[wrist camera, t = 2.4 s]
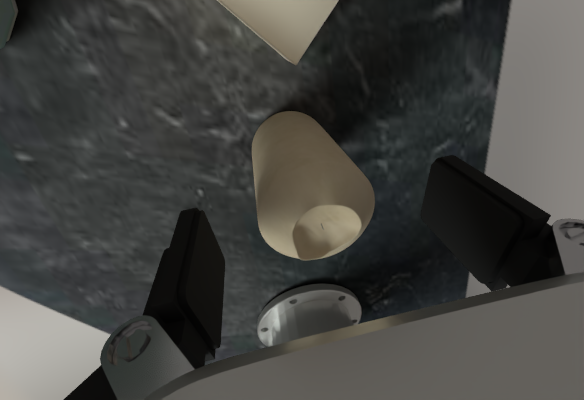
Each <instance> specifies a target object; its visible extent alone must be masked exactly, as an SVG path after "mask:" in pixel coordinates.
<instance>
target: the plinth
mask: <svg viewBox="0 0 584 400" xmlns="http://www.w3.org/2000/svg"><path fill="white" fill-rule="evenodd" d="M217 1H218V2H219V3H220V4H222V5H223V6H224V7H225V8H226V9H227V10H229V11H230V12H231V13H232V14H233V15H235V16H236V17H237V18H238V19H239V20H240V21H242V22H243V23H244V24H245V25H246V26H247V27H249V28H250V29H251V30H252V31H253V32H254V33H256V34H257V35H258V36H259V37H260V38H261V39H263V40H264V41H265V42H266V43H267V44H269V45H270V46H271V47H272V48H273V49H274V50H276V51H277V52H278V53H279V54H280V55H281V56H283V57H284V58H285V59H286V60H287V61H289V62H291V63H293V64H295V65H296V64H297V63H298V61H299V60H300V58H301V57H302V55H303V54H304V52H305V51H306V49H307V48H308V46H309V45H310V43H311V42H312V40H313V39H314V37H315V36H316V34H317V33H318V31H319V30H320V28H321V27H322V25H323V24H324V22H325V20H326V19H327V17H328V16H329V14H330V13H331V11H332V10H333V8H334V7H335V5H336V4H337V2H338V1H339V0H217Z"/></svg>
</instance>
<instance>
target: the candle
mask: <svg viewBox="0 0 584 400" xmlns="http://www.w3.org/2000/svg"><path fill="white" fill-rule="evenodd" d="M252 160H253V171H254V183H255V194H256V205H257V216H258V225H259V229H260V232H261V234H262V236H263V238H264V239H265V241H266V242H267V243H268V244H269V245H270V246H271V247H272V248H273V249H275V250H276V251H278V252H280V253H282V254H284V255H286V256H290V257H294V258H299V259H301V260H313V259H320V258H324V257H328V256H331V255H334V254H336V253H338V252H340V251H342V250H344V249H345V248H347V247H348V246H350V245H351V244H352V243H353V242H354V241H356V240H357V239H358V238H359V236H360V235H361V234H362V233H363V231H364V230H365V228H366V227H367V225H368V224H369V222H370V220H371V217H372V214H373V211H374V205H375V198H374V192H373V188H372V186H371V184H370V182H369V180H368V179H367V178H366V176H365V175H364V174H363V173H362V172H361V171H360V169H359V168H358V167H357V166H356V165H355V164H354V163H353V162H352V160H351V159H350V158H349V157H348V156H347V155H346V154H345V153H344V151H343V150H342V149H341V148H340V147H339V146H338V145H337V144H336V142H335V141H334V140H333V139H332V138H331V137H330V136H329V134H328V133H327V132H326V131H325V130H324V129H323V128H322V127H321V126H320V125H319V124H318V123H317V122H316V121H315V120H314V119H313V118H312V117H310V116H308V115H306V114H304V113H301V112H296V111H285V112H280V113H277V114H275V115H273V116H271V117H269V118H268V119H267V120H265V121H264V122H263V123H262V124H261V126H260V127H259V128H258V130H257V132H256V134H255V136H254V139H253V143H252Z"/></svg>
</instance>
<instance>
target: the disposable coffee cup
mask: <svg viewBox="0 0 584 400" xmlns="http://www.w3.org/2000/svg"><path fill="white" fill-rule="evenodd" d="M17 13H18V9H17V5H16V2H15V0H0V49H1V48H3V47H5V44H6V42H7V41H9V39H10V35H11V32H12V29H13V26H14V23H15V20H16V17H17Z"/></svg>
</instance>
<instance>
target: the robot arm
mask: <svg viewBox="0 0 584 400" xmlns="http://www.w3.org/2000/svg"><path fill="white" fill-rule="evenodd" d="M550 216H551V215H550V214H548V213H546V212H545V211H543V210H541V209H540V208H538V207H537V206H535V205H533V204H532V203H530V202H528V201H527V200H525V199H524V198H522V197H520V196H519V195H517V194H515V193H514V192H512V191H511V190H509V189H508V188H506V187H504V186H503V185H501V184H499V183H498V182H496V181H494V180H493V179H491V178H490V177H488V176H486V175H485V174H483V173H482V172H480V171H478V170H477V169H475V168H474V167H472V166H470V165H469V164H467V163H465V162H464V161H462V160H461V159H459V158H457V157H456V156H453V155H450V156H445V157H441V158H437V159H436V160H435V162H434V163H433V164H432V165H431V169H430V174H429V178H428V182H427V187H426V191H425V196H424V200H423V205H422V209H421V218H422V220H423V222H424V223H425V224H426V225H427V226H428V227H429V228H430V229H431V230H432V231H433V232H434V234H435V235H436V236H437V237H438V238H439V239H440V240H441V241H442V242H443V243H444V244H445V245H446V247H447V248H448V249H449V250H450V251H451V252H452V253H453V254H454V255H455V256H456V257H457V258H458V259H459V261H460V262H461V263H462V264H463V265H464V266H465V267H466V268H467V269H468V270H469V271H470V272H471V273H472V274H473V276H474V277H475V278H476V279H477V280H478V281H479V282H481V283H483V284H485V285H486V286H487V287H488V288H489V289H490V290H491V291H493V292H489V293H484V294H480V295H476V296H472V297H468V298H464V299H459V300H455V301H451V302H447V303H443V304H439V305H435V306H430V307H426V308H422V309H418V310H414V311H410V312H406V313H402V314H398V315H394V316H389V317H385V318H381V319H377V320H373V321H369V322H365V323H361V324H358V322H359V320H360V318H361V314H362V312H361V306H360V304H359V301H358V299H357V297H356V296H355V294H354V293H352V292H351V291H350V290H348V289H346V288H344V287H342V286H338V285H334V284H311V285H305V286H301V287H298V288H295V289H292V290H289V291H287V292H285V293H283V294H281V295H279V296H278V297H276V298H275V299H273V300H272V301H271V302H270V303H269V304H267V305H266V307H265V308H264V309H263V310H262V312H261V313H260V315H259V318H258V322H257V329H258V336H259V339H260V340H261V342H262V343H263V344H264V345H266V346H267V347H266V348H262V349H259V350H255V351H251V352H248V353H244V354H240V355H236V356H233V357H230V358H227V359H223V360H220V361H217V362H214V363H211V364H208V365H205V366H204V364H205V361H209V360H213V359H215V349H216V348H219V347H220V343H221V327H222V310H223V292H224V275H225V260H224V256H223V254H222V252H221V249H220V247H219V245H218V242H217V240H216V238H215V235H214V233H213V231H212V229H211V226H210V224H209V222H208V219H207V217H206V215H205V213H204V211H203V210H202V211H199V210H198V209H197V208H193V209H188V210H183V211H181V212H180V215H179V218H178V221H177V225H176V228H175V231H174V234H173V238H172V241H171V244H170V247H169V248H167V249H166V250H164V253H163V255H162V258H161V261H160V264H159V267H158V270H157V273H156V276H155V279H154V282H153V285H152V288H151V291H150V294H149V298H148V301H147V304H146V307H145V310H144V313H143V316H138V317H135V318H133V319H130V320H128V321H127V322H125V323H124V324H122V325H121V326H120V327H118V328H117V329H116V330H115V331H114V332H113V333H112V334H111V336H110V337H109V338H108V340H107V341H106V343H105V345H104V347H103V349H102V352H101V358H100V360H101V366H100V367H99V368H98V369H96V371H94V372H93V373H92V374H91V375H90V376H89V377H88V378H87V379H86V380H84V381H83V382H82V384H80V385H79V386H78V387H77V388H76V389H75V390H74V391H72V392H71V393H70V394H69V395H68V396H67V397H66V398H65V399H64V400H584V221H582V220H576V219H561V220H558V221H556V222H555V223H554V224H553V225H552V226H550V225H549V224H547V221H548V220H549V217H550ZM507 284H508V285H509V286H510V288H506V286H507ZM504 288H505V289H504ZM500 289H501V290H500ZM496 290H497V291H496Z"/></svg>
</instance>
